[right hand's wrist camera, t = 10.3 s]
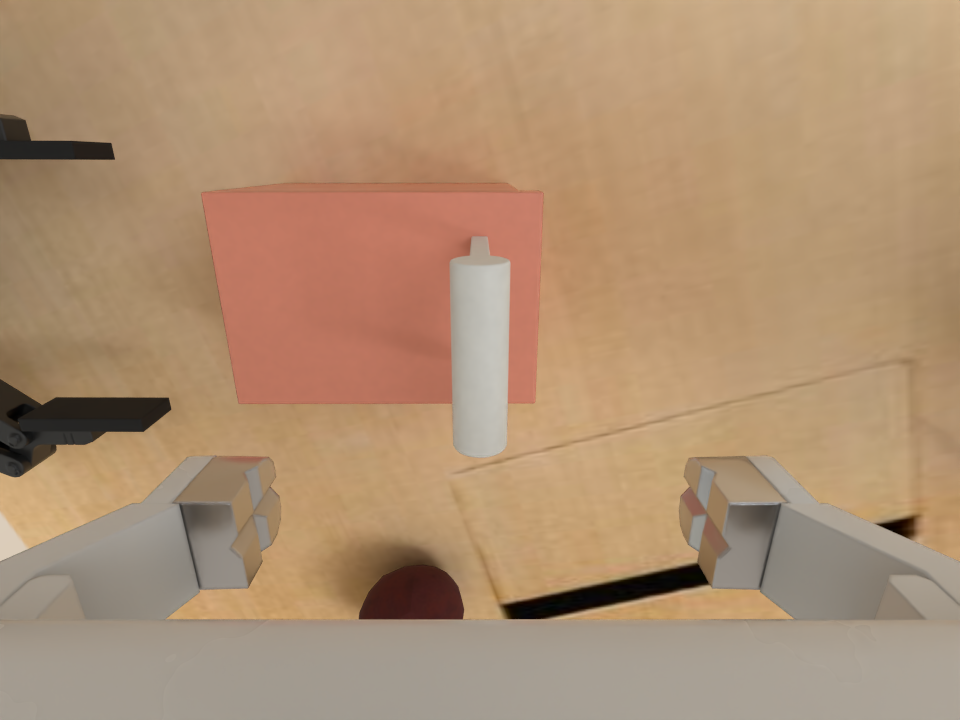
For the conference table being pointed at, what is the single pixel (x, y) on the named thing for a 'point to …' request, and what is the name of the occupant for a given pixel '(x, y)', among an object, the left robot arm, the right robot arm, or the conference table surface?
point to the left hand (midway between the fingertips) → (129, 294)
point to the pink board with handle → (383, 300)
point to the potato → (414, 596)
